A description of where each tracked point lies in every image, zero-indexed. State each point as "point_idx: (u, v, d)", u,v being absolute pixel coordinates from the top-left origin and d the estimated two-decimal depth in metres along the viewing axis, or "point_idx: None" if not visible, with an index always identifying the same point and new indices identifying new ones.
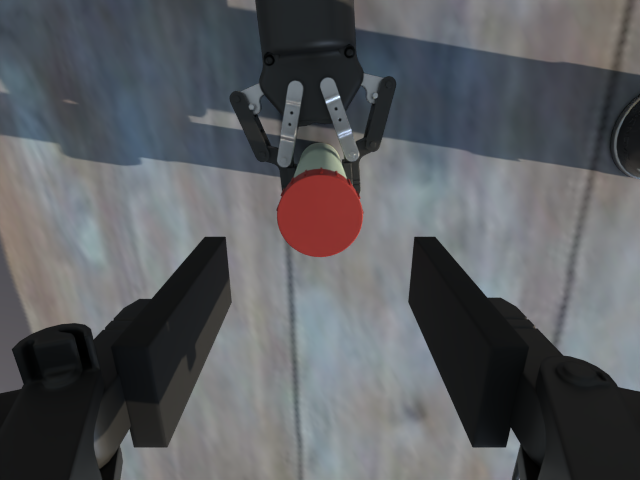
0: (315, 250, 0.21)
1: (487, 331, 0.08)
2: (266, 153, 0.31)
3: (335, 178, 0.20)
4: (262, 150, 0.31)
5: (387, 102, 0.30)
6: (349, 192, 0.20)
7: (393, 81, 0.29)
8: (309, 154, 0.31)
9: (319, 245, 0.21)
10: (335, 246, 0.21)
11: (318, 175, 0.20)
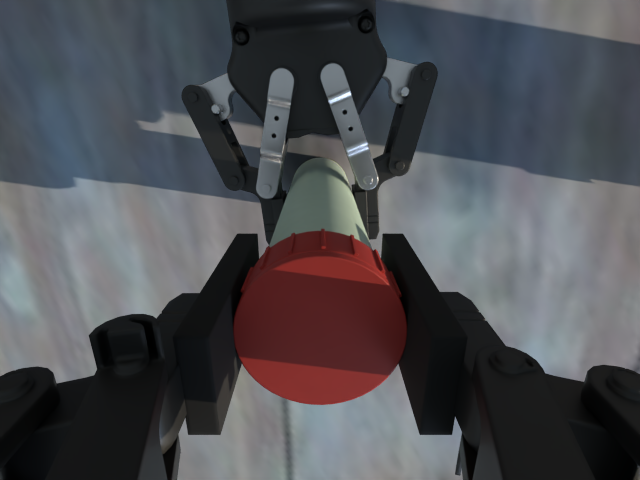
0: (311, 393, 0.11)
1: (431, 322, 0.08)
2: (240, 178, 0.21)
3: (353, 263, 0.09)
4: (234, 174, 0.21)
5: (423, 102, 0.20)
6: (381, 290, 0.10)
7: (433, 69, 0.19)
8: (304, 180, 0.20)
9: (319, 385, 0.11)
10: (350, 387, 0.11)
11: (317, 257, 0.09)
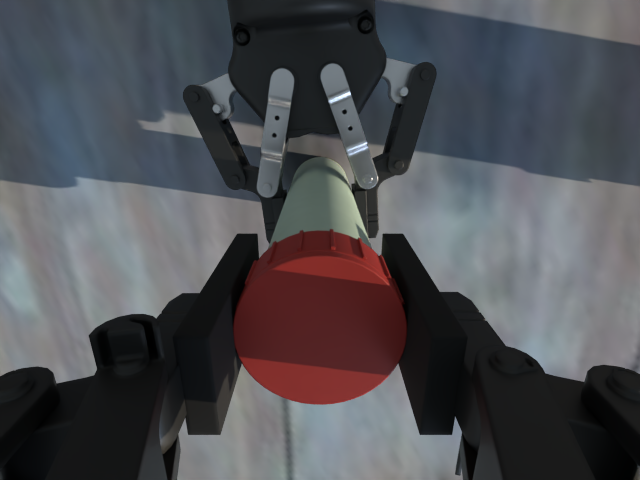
0: (388, 311, 0.10)
1: (431, 322, 0.08)
2: (240, 177, 0.21)
3: (236, 348, 0.10)
4: (234, 173, 0.21)
5: (422, 102, 0.20)
6: (243, 315, 0.10)
7: (432, 70, 0.19)
8: (304, 179, 0.21)
9: (374, 310, 0.10)
10: (359, 282, 0.09)
11: (250, 373, 0.10)
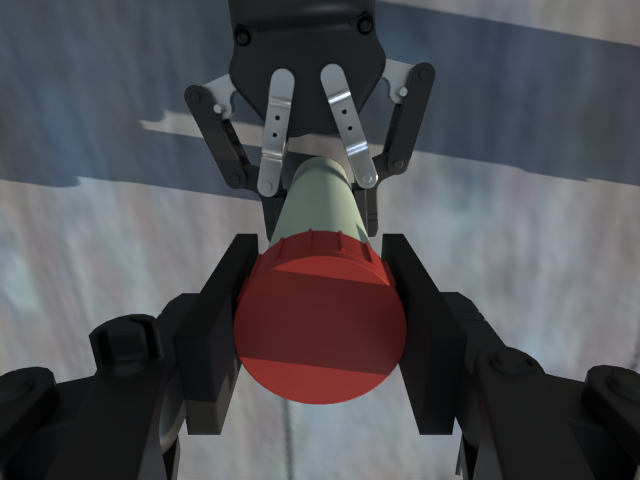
0: (258, 298, 0.10)
1: (431, 322, 0.08)
2: (241, 177, 0.21)
3: (372, 388, 0.11)
4: (235, 172, 0.21)
5: (421, 102, 0.20)
6: (336, 396, 0.11)
7: (431, 70, 0.19)
8: (304, 179, 0.21)
9: (265, 310, 0.10)
10: (249, 335, 0.10)
11: (394, 366, 0.10)
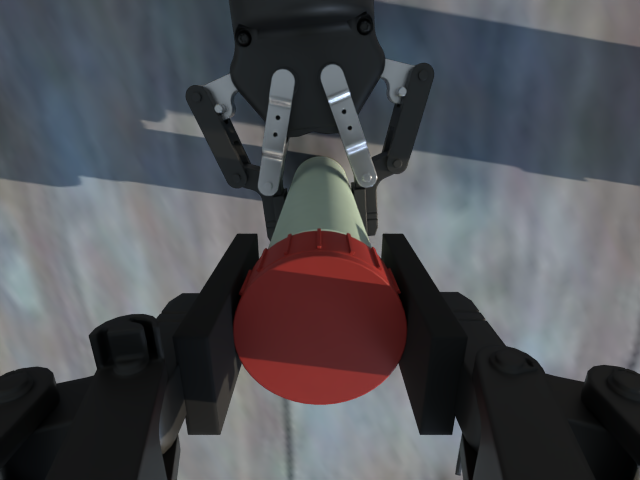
0: (314, 394, 0.11)
1: (431, 322, 0.08)
2: (242, 176, 0.22)
3: (349, 261, 0.09)
4: (236, 172, 0.22)
5: (420, 102, 0.20)
6: (379, 287, 0.10)
7: (430, 70, 0.20)
8: (304, 178, 0.21)
9: (321, 385, 0.11)
10: (353, 386, 0.11)
11: (312, 257, 0.09)
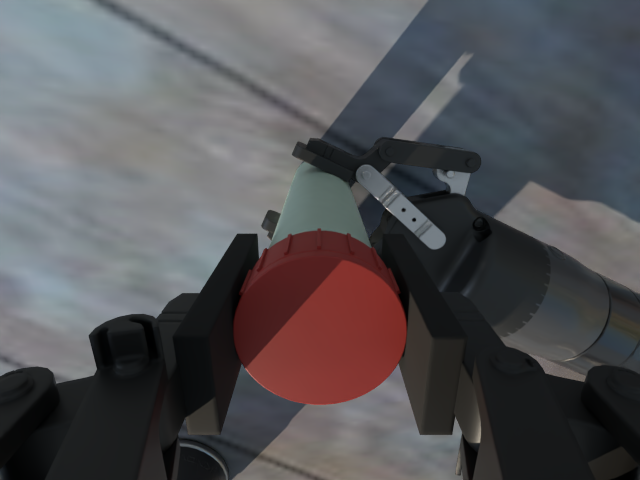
0: (314, 394, 0.11)
1: (431, 322, 0.08)
2: (388, 157, 0.21)
3: (349, 261, 0.09)
4: (394, 155, 0.21)
5: None
6: (379, 287, 0.10)
7: None
8: None
9: (321, 385, 0.11)
10: (353, 386, 0.11)
11: (312, 257, 0.09)
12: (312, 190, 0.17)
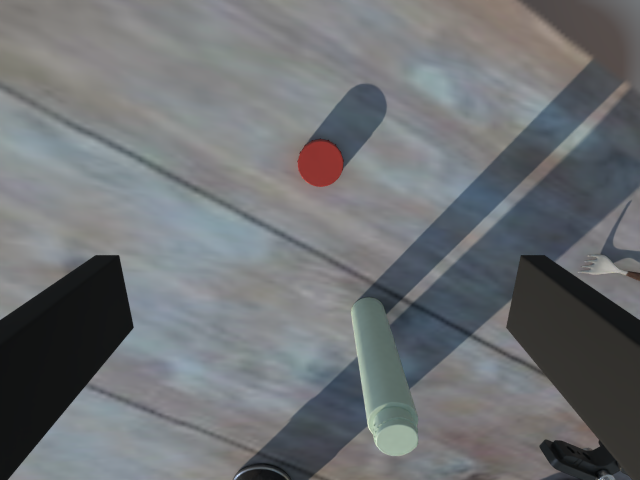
0: (319, 182, 0.39)
1: None
2: None
3: (327, 142, 0.38)
4: None
5: None
6: (335, 149, 0.38)
7: None
8: None
9: (321, 180, 0.39)
10: (329, 180, 0.39)
11: (318, 141, 0.38)
12: (379, 357, 0.35)
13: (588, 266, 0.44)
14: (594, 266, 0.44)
